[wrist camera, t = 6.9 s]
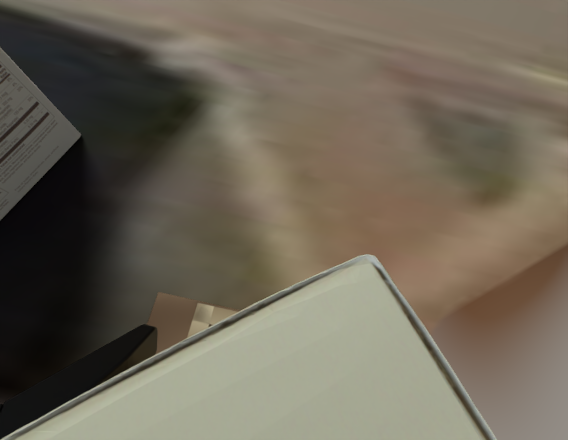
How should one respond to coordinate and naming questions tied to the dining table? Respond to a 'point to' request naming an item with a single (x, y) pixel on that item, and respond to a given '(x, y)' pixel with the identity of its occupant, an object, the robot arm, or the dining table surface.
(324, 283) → the skincare box
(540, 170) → the dining table surface
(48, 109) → the supplement box
